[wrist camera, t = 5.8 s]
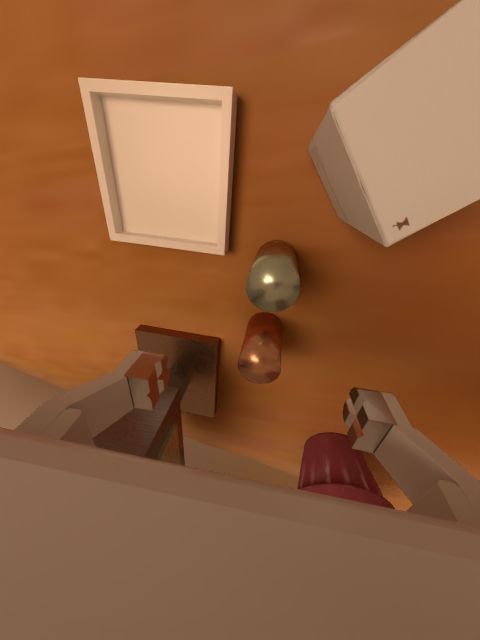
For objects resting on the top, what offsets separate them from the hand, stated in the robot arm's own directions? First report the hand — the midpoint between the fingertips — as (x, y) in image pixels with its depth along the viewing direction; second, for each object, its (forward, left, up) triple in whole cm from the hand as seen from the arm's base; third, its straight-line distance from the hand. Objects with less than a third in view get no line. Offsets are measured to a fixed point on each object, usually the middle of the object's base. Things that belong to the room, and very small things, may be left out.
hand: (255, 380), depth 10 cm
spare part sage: (0, 0, -19) cm, 19 cm away
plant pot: (-15, +32, -19) cm, 40 cm away
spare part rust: (0, +9, -19) cm, 21 cm away
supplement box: (-6, -10, -19) cm, 22 cm away
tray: (+12, -7, -19) cm, 23 cm away
